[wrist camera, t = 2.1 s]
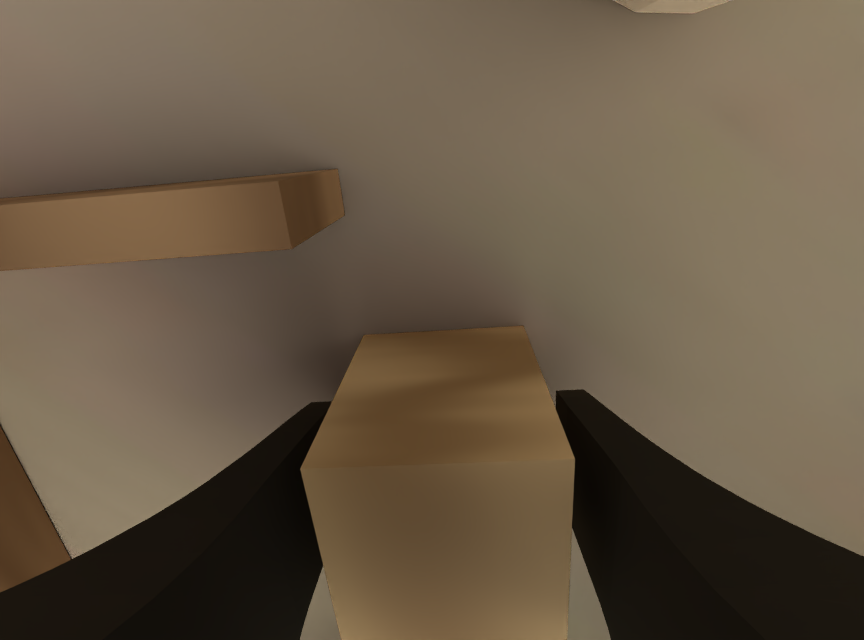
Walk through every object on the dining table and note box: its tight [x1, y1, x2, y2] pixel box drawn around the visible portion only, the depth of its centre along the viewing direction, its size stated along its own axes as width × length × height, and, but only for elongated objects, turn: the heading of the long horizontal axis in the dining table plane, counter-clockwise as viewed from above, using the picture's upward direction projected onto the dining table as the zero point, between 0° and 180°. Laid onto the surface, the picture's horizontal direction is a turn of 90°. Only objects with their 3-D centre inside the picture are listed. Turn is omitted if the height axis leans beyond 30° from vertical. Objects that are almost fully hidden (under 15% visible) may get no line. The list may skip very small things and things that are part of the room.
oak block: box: [300, 326, 575, 640], centre depth 9 cm, size 4×4×5 cm
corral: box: [0, 169, 345, 592], centre depth 12 cm, size 12×19×4 cm, turn 5°
